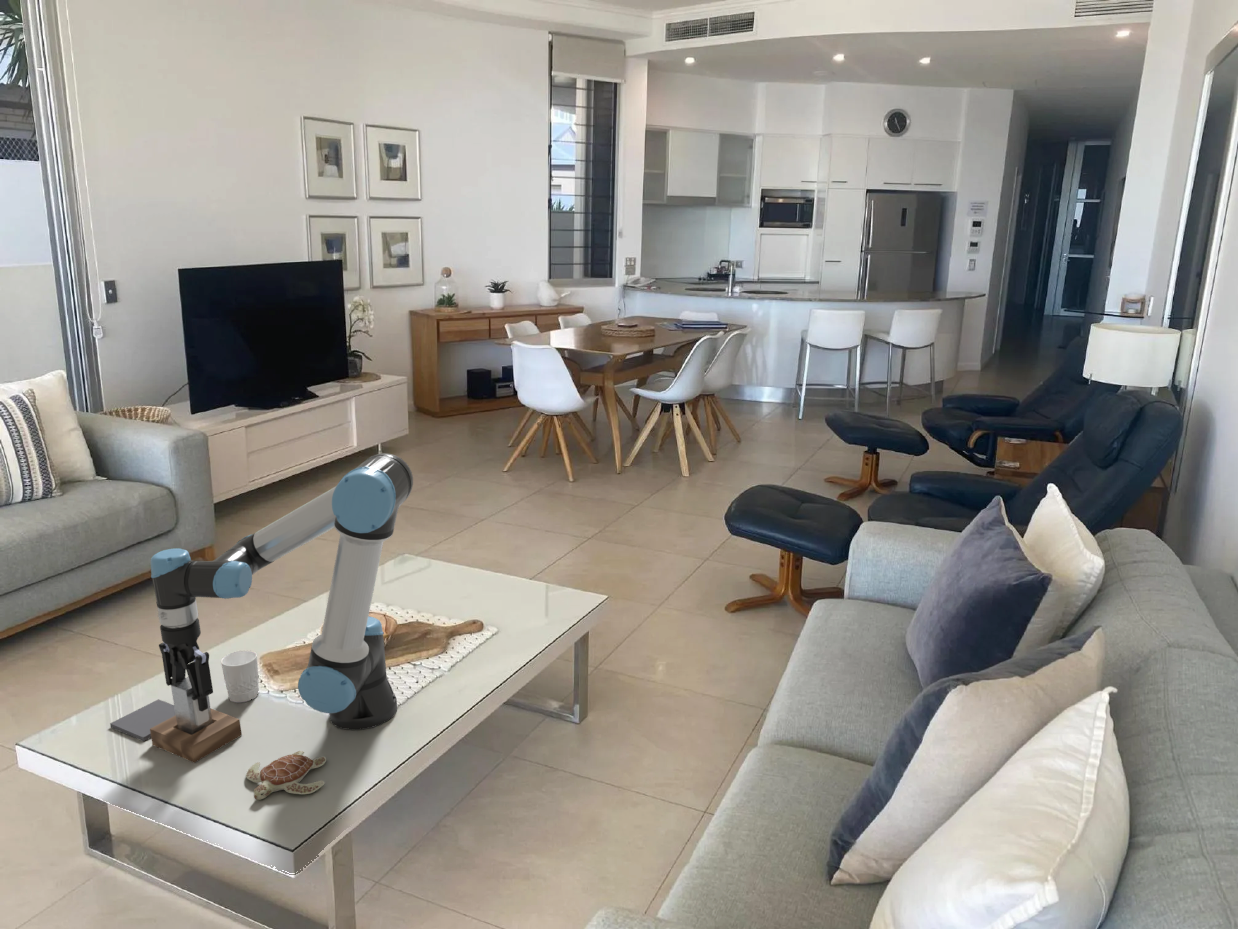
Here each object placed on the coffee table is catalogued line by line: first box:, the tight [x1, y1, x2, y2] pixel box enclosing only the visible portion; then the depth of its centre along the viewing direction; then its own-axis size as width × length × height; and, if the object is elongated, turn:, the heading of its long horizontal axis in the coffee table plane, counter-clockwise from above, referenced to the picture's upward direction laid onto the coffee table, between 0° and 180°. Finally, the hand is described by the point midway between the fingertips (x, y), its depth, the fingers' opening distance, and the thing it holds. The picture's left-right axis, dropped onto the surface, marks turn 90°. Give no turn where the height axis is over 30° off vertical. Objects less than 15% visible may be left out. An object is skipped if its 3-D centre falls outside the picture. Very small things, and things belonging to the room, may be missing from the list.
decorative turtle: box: [245, 750, 327, 801], centre depth 189 cm, size 18×17×5 cm
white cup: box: [220, 650, 260, 704], centre depth 221 cm, size 8×8×10 cm
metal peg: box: [170, 676, 213, 735], centre depth 202 cm, size 5×5×14 cm
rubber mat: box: [109, 699, 176, 742], centre depth 212 cm, size 12×12×1 cm
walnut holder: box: [150, 708, 243, 764], centre depth 204 cm, size 14×12×4 cm
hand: (194, 718), depth 203 cm, fingers closed on metal peg, 5 cm apart
